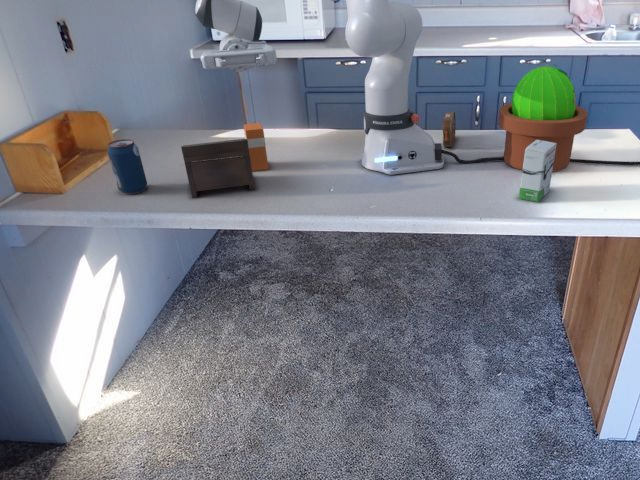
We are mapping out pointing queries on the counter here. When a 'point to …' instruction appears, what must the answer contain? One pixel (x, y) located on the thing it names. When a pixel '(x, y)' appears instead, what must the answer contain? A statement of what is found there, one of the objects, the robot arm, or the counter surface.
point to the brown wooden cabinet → (218, 165)
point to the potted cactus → (542, 116)
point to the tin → (449, 129)
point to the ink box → (537, 170)
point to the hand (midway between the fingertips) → (241, 62)
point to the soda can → (127, 166)
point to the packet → (256, 146)
